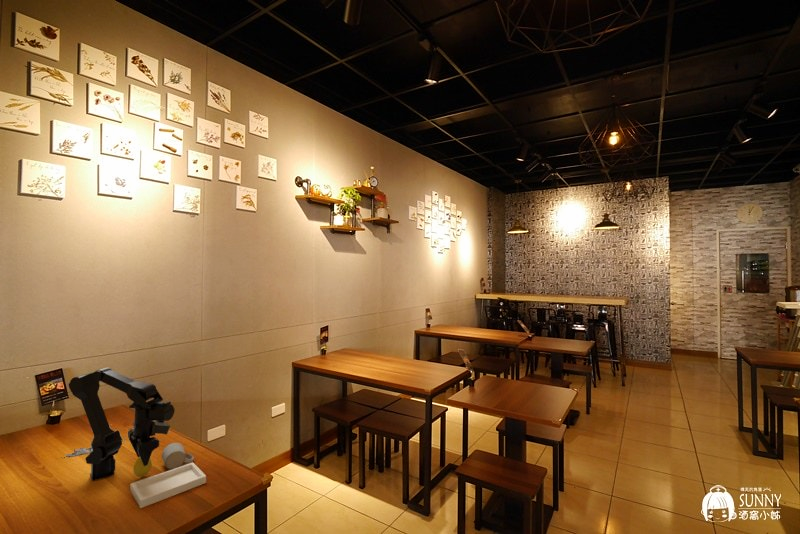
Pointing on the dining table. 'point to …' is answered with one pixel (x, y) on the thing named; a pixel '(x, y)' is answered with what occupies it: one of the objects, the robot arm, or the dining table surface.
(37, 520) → the dining table surface
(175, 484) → the tray
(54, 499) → the dining table surface
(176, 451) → the ceramic mug
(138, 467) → the lemon
